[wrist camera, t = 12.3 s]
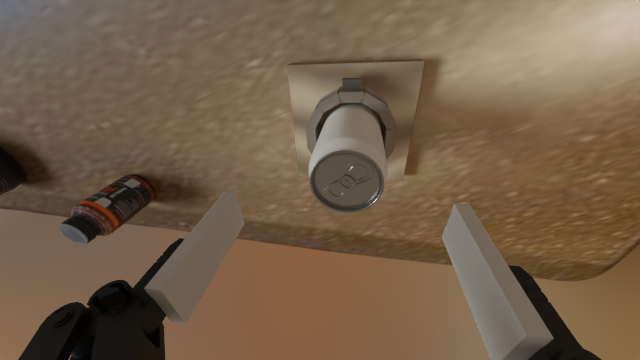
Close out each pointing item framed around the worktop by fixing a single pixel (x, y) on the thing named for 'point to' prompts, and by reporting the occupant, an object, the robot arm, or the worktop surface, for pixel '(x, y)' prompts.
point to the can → (349, 160)
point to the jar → (9, 173)
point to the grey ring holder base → (356, 87)
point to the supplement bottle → (107, 209)
